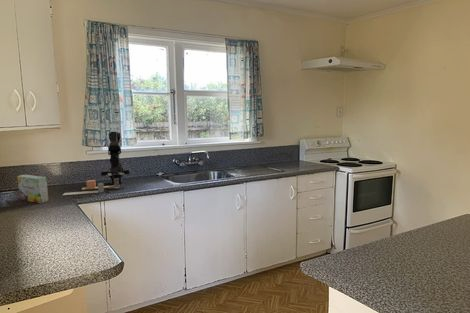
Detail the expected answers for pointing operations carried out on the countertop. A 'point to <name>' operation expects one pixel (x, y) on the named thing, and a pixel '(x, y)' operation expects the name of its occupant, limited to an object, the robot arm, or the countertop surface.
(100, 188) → the white long bar
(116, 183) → the beige rectangular bar
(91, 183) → the terracotta block
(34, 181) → the snack box
